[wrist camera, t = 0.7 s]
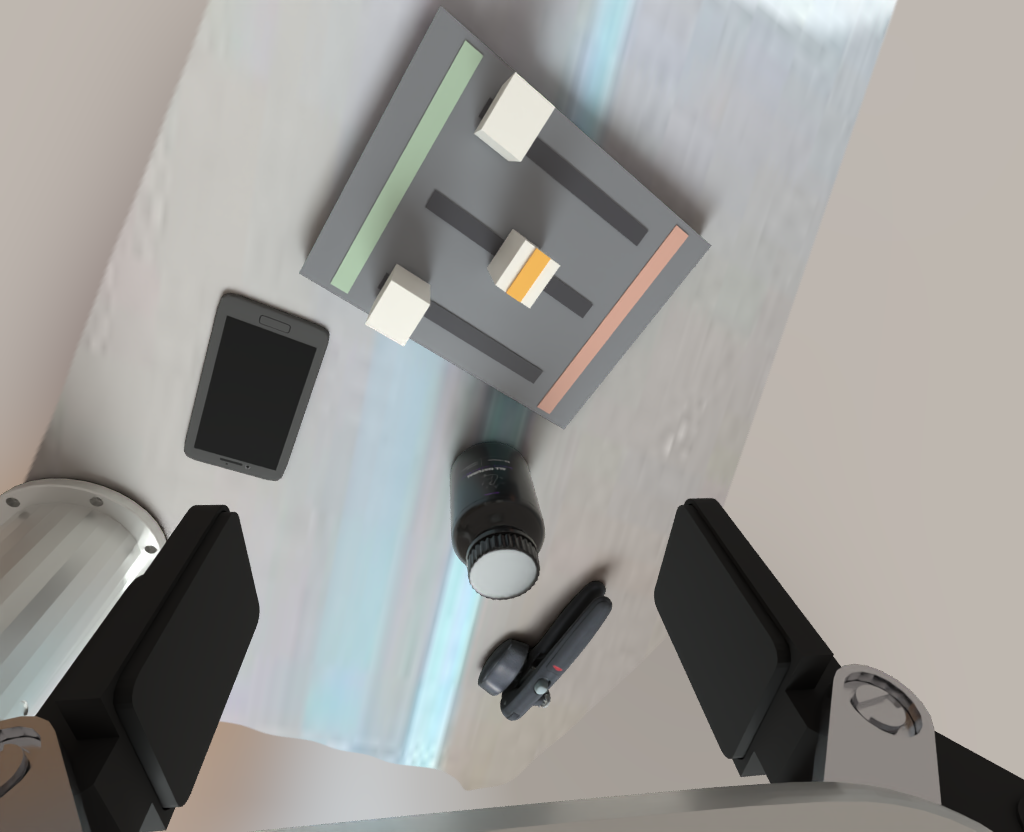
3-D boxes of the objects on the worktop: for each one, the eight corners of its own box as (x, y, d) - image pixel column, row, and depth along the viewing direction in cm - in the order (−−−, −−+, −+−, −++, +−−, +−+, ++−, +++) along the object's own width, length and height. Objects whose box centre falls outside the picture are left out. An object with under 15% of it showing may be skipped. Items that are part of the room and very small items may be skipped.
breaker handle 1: (407, 322, 34) (403, 346, 30) (373, 302, 33) (365, 324, 29) (430, 285, 33) (430, 304, 29) (396, 263, 33) (391, 280, 28)
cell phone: (333, 328, 37) (331, 331, 36) (282, 479, 42) (280, 484, 41) (224, 287, 34) (221, 290, 34) (184, 452, 39) (180, 457, 39)
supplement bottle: (487, 423, 41) (506, 515, 31) (543, 468, 44) (578, 566, 34) (431, 477, 43) (431, 582, 32) (489, 517, 46) (506, 626, 35)
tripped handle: (517, 289, 34) (530, 309, 30) (486, 268, 33) (495, 285, 29) (543, 251, 33) (560, 266, 29) (512, 228, 33) (526, 240, 28)
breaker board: (558, 417, 42) (564, 429, 40) (305, 267, 34) (298, 273, 32) (697, 241, 37) (712, 245, 35) (439, 14, 29) (440, 4, 27)
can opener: (517, 688, 58) (525, 737, 53) (469, 668, 55) (473, 718, 50) (625, 590, 53) (645, 635, 48) (578, 563, 50) (594, 608, 45)
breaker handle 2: (508, 160, 31) (521, 161, 26) (473, 133, 30) (481, 129, 25) (537, 114, 30) (555, 107, 25) (502, 84, 29) (515, 72, 25)
